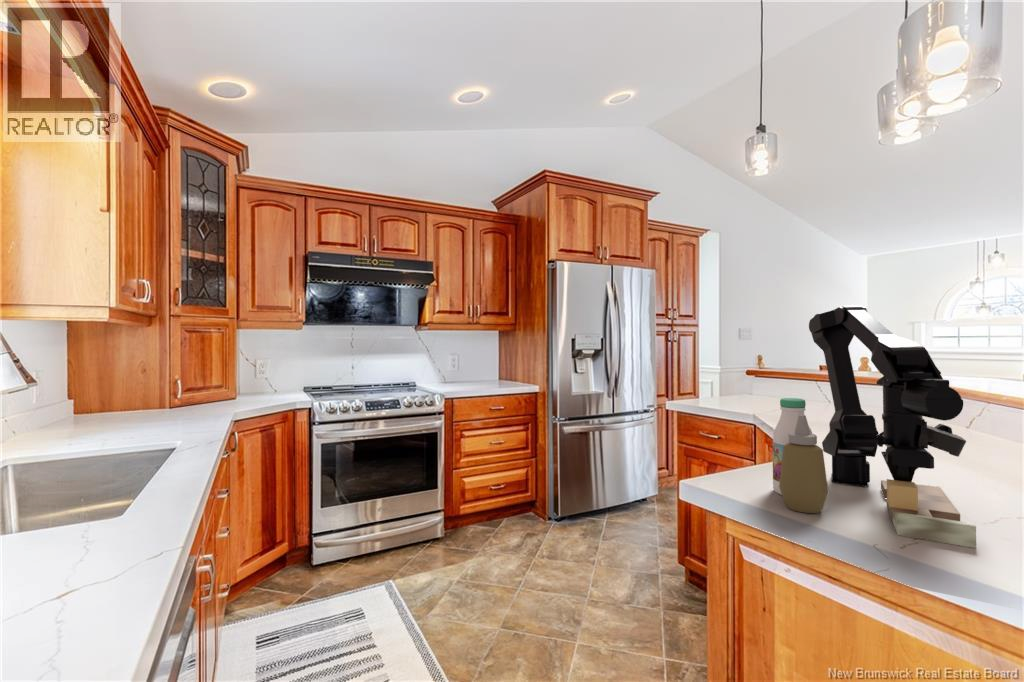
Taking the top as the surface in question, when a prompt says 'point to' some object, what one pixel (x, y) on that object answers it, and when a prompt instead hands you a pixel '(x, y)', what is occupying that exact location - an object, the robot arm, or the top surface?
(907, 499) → the block
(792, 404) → the milk bottle
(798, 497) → the squeeze bottle
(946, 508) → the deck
